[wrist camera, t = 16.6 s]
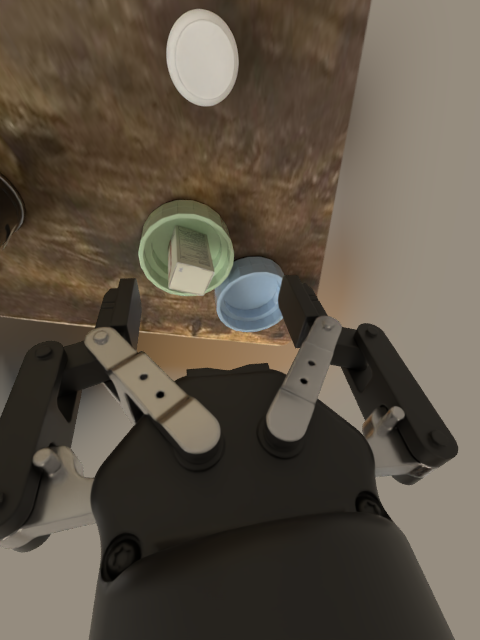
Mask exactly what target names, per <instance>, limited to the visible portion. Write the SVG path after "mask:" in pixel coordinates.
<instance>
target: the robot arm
mask: <svg viewBox="0 0 480 640" xmlns="http://www.w3.org/2000/svg"><path fill="white" fill-rule="evenodd" d="M24 219H25V207H24V203H23V200H22V198H21V196H20V195H19V193H18V191H17V190H16V189H15V187H14V186H13V185H12V184H11V183H10V182H9V181H8V180H7V179H6V178H5V177H4V176H3V175H2V174H0V248H1V246H2V245H3V244H4V243H5V242H6V241H7V242H6V244H5V246H4V248H5V247H6V245H7V243H8V241H9V239H10V237H11V235H12V234H13V233H14V232H16V231H17V230H18V229H19V228H20V226H21V225H22V224H23V222H24ZM4 248H3V249H4ZM278 306H279V309H280V311H281V314H282V316H283V319H284V321H285V324H286V326H287V329H288V331H289V333H290V336H291V338H292V341H293V343H294V346H295V348H300V349H299V351H298V354H297V355H296V357H295V359H294V361H293V364H292V365H291V368H290V369H289V371H288V374H287V375H286V374H284V373H282V372H279V371H276V370H272V369H269V365H268V363H263V364H262V363H261V364H249V365H246V366H242V367H239V368H236V369H233V370H220V369H212V368H199V369H187V376H185V377H182V378H179V379H177V380H176V381H173V380H172V379H171V378H170V377H169V376H168V375H167V374H166V373H165V372H164V371H163V370H162V369H161V368H160V367H159V366H158V365H157V364H156V363H155V362H154V361H153V360H152V359H151V358H150V357H149V356H148V355H147V354H146V353H145V352H143V351H141V352H139V353H138V352H137V343H138V335H139V327H140V319H141V300H140V295H139V290H138V284H137V280H136V278H128V279H120V282H119V287H118V288H114V289H110V290H109V291H108V292H107V293H106V294H105V295H104V298H103V302H102V305H101V309H100V312H99V316H98V319H97V323H96V326H95V329H94V330H92V331H90V332H89V333H88V334H87V335H86V336H85V339H84V341H81V342H79V343H76V344H72V345H69V346H65V347H63V346H62V344H61V343H59V342H56V341H46V342H42V343H39V344H37V345H35V346H34V347H32V348H31V349H30V350H29V351H28V352H27V354H26V355H25V358H24V360H23V363H22V365H21V368H20V370H19V373H18V375H17V378H16V380H15V383H14V385H13V388H12V390H11V393H10V395H9V398H8V400H7V403H6V405H5V408H4V410H3V412H2V415H1V417H0V546H1V547H3V548H6V549H13V550H15V551H18V552H28V551H31V550H33V549H35V548H37V547H39V546H40V545H42V544H43V542H45V541H46V540H47V539H48V537H49V536H50V534H51V533H56V532H60V531H64V530H69V529H73V528H77V527H81V526H86V525H90V524H94V523H96V524H97V526H98V530H99V535H100V540H101V563H100V569H99V575H98V581H97V587H96V594H95V601H94V608H93V615H92V622H91V629H90V635H89V640H455V639H454V637H453V635H452V633H451V630H450V628H449V626H448V624H447V622H446V620H445V618H444V616H443V614H442V612H441V609H440V607H439V605H438V603H437V601H436V599H435V597H434V595H433V593H432V590H431V588H430V586H429V584H428V582H427V580H426V578H425V576H424V574H423V571H422V569H421V567H420V565H419V563H418V561H417V559H416V557H415V555H414V552H413V550H412V548H411V546H410V544H409V542H408V540H407V538H406V536H405V535H404V534H403V532H402V531H401V530H400V529H399V528H398V527H397V525H396V524H395V523H394V522H393V521H392V520H391V518H390V517H389V515H388V514H387V512H386V511H385V510H384V508H383V506H382V504H381V502H380V499H379V496H378V492H377V487H376V480H375V477H381V476H392V477H393V478H394V479H395V480H397V481H398V482H400V483H402V484H405V485H413V484H415V483H416V482H418V481H419V480H421V479H422V478H424V477H425V476H427V475H428V474H430V473H431V472H433V471H434V470H436V469H437V468H439V467H440V466H442V465H443V464H445V463H446V462H448V461H449V460H451V459H452V458H454V457H455V456H456V455H457V453H458V446H457V443H456V441H455V439H454V437H453V436H452V435H451V433H450V431H449V430H448V428H447V427H446V425H445V424H444V422H443V421H442V419H441V418H440V416H439V415H438V413H437V412H436V410H435V409H434V407H433V406H432V404H431V403H430V401H429V400H428V398H427V397H426V395H425V394H424V392H423V391H422V389H421V387H420V386H419V384H418V383H417V381H416V380H415V379H414V377H413V375H412V374H411V372H410V371H409V370H408V368H407V366H406V365H405V363H404V362H403V360H402V359H401V358H400V356H399V354H398V353H397V351H396V350H395V348H394V347H393V346H392V344H391V342H390V341H389V339H388V338H387V336H386V335H385V333H384V332H383V331H382V330H381V329H380V328H378V327H377V326H375V325H372V324H368V323H367V324H366V323H364V324H361V325H359V327H358V328H357V330H355V329H350V328H344V327H342V326H341V324H340V323H339V321H337V320H336V319H334V318H332V317H329V316H328V315H327V314H326V312H325V310H324V308H323V307H322V305H321V303H320V301H318V298H317V296H316V295H315V293H314V291H313V289H312V288H311V287H309V286H308V285H307V284H302V283H301V281H300V279H299V277H298V276H297V275H284V276H283V278H282V282H281V287H280V291H279V295H278ZM329 365H336V366H341V368H342V370H343V373H344V375H345V377H346V379H347V382H348V384H349V385H350V388H351V390H352V393H353V395H354V397H355V399H356V401H357V403H358V406H359V408H360V410H361V412H362V414H363V417H364V419H365V422H364V423H363V426H362V431H363V435H364V436H363V435H362V434H361V433H360V432H359V431H358V430H357V429H356V428H355V427H354V426H352V425H351V424H350V423H348V422H347V421H346V420H344V419H343V418H342V417H340V416H339V415H338V414H337V413H336V412H334V411H333V410H332V409H330V408H329V407H328V406H326V405H325V404H324V403H323V402H321V401H320V400H319V399H318V395H319V393H320V390H321V387H322V384H323V382H324V379H325V376H326V373H327V370H328V368H329ZM100 383H102V384H103V385H104V386H105V388H106V389H107V390H108V391H109V392H110V394H111V395H112V396H113V397H114V399H115V400H116V401H117V402H118V403H119V405H120V406H121V407H122V409H123V410H124V412H125V414H126V416H127V417H128V419H129V420H130V422H131V423H132V424H133V425H134V426H133V428H132V429H131V430H130V431H129V433H128V434H127V435H126V436H125V437H124V438H123V440H122V441H121V442H120V443H119V444H118V446H117V447H116V448H115V449H114V450H113V452H112V453H111V454H110V455H109V456H108V457H107V459H106V460H105V461H104V462H103V464H102V465H101V466H100V468H99V470H98V471H97V473H96V476H95V478H86V477H84V476H83V465H82V463H81V462H80V460H79V459H78V458H77V456H76V455H75V454H74V452H73V451H72V450H71V444H72V438H73V434H74V429H75V424H76V419H77V413H78V408H79V403H80V398H81V393H82V389H85V388H88V387H91V386H94V385H97V384H100Z"/></svg>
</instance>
